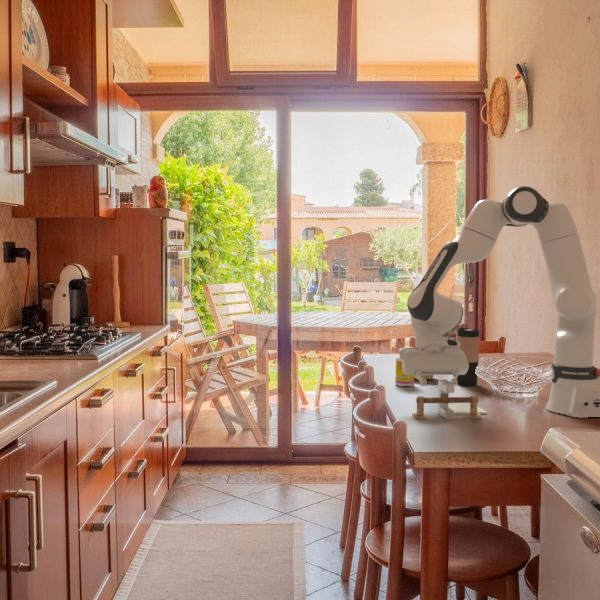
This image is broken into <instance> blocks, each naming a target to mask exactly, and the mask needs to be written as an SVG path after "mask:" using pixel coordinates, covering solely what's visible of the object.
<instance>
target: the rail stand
mask: <svg viewBox="0 0 600 600" xmlns="http://www.w3.org/2000/svg"><path fill="white" fill-rule="evenodd" d="M415 401H416V413H413V412H412V414H411V415H412V417H413V419H414V420H428V419H429V415H427V414H426V413H425V412H424V411H425V409H424V408H425V407H424V406H425V404H438V403H448V404H461V403H462V404H463V403H465V404H469V405H470V413H465V414H464V416H466V417H467V418H468V419H482V417H483V414H479V413H477V406H478V403H479V397H478V396H477V395H471V396H464V397H463V396H460V397H459V396H458V397H457V396H455V397H454V396H452V397H451V396H450V397H449V396H448V397H438V396H437V397H425V396H421V395H420V396H417V397H416V398H415Z"/></svg>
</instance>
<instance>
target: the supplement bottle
mask: <svg viewBox="0 0 600 600" xmlns="http://www.w3.org/2000/svg"><path fill="white" fill-rule="evenodd" d="M401 349H402V348H399V349H398V352H399V351H400V350H401ZM398 354H399V353H398ZM394 380H395V382H394V383H395V385H396V386H397V385H398V386H399V387H403V386H410V387H413V386H414V385H415V379H414V375H405V374H404V373H403V370H402V359H401V358H400V354H399V355H397V357H396V358H395V379H394ZM398 386H397V387H398Z"/></svg>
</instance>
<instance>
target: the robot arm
mask: <svg viewBox="0 0 600 600" xmlns="http://www.w3.org/2000/svg"><path fill="white" fill-rule="evenodd" d="M527 225H531V226H532V227H534V229H535V231H536V232H537V235H538V238H539V243H540V247H541V250H542V254H543V257H544V261H545V265H546V270H547V274H548V279H549V283H550V284H549V285H550V289H551V294H552V299H553V301H554V307H555V310H556V311H557V312H556V313H557V314H556V320H555V322H556V323H555V333H554V334H555V335H554V349H553V351H554V354H553V363H552V366H551V371H550V373H551V374H550V375H551V376H550V377H551V389H550V394H549V397H548V401H547V404H546V407H545V409H546V410H548V411H550V412H552V413H556V414H559V413H560V414H561V415H564V414H565V415H566V416H569V417H573V418H577V417H578V419H579V418H581V419H584V418H587V419H588V417H600V378H599V377H600V368H597V367H596V366H594V365H593V363H594V362H593V361H594V345H595V344H594V341H595V328H596V327H595V326H596V311H597V310H596V308H597V296H596V293H595V290H594V289H593V288H592V284H591V280H590V276H589V272H588V266H587V262H586V258H585V255H584V251H583V247H582V243H581V241H580V240H581V239H580V237H579V236H580V235H579V233H578V229H577V225H576V223H575V220H574V218H573V215H572V214H571V212H570V210H569V207H568V206H567V205H566V204H564V203H561V202H549V201H548V200H546V199H545V197H543V196H542V194H541V193H540V192H539V191H538V190H536V189H535V188H533V187H531V186H527V185H525V186H523V185H520V186H517V187H515V188H513V189H512V190H510V191H509V193H507V195H506V196H505V197H504V199H503V200H501V201H495V200H492V199H489V198H488V199H481V200H479V201H477V202H476V203H475V205H474V206H473V208H472V209H471V210H470V212H469V213H468V216H467V217H466V219H465V221H464V223H463V225H462V228H461V230H460V232H459V233H458V235H457V236H456V237H455V238H454V239H453V240H451V241H448V242H446V243H445V244H444V245H443V246H442V248H441V249H440V250H439V252H438V253H437V255H436V256H435V258H434V260H433V261H432V262H431V264H430V266H429V267H428V269H427V271H426V273H425V274H424V275H423V277H422V279H421V281H419V283H418V284H417V286H416V287H415V288H414V290H412V292H411V293H410V295H409V296H408V298H407V301H406V302H407V305H406V306H407V310H408V312H409V314H410V323H411V328H412V334H413V335H414V342H415V347H403V348H400V349H401V350H400V351H399V350H398V354H400V358H401V359H402V370H403V373H404V374H405V375H415V377H416V378H417V379H416V380H417V381H419V382H420V383H419V384H420V386H421V387H427V384H428V382H427V379H426V378H423V377H422V376H421V375H434V376H452V378H451V380H450V382H451V383H453V384H454V385H455V386H454V387H457V386H458V385H457V384H458V382H457V377H458V375H465V374H466V373H467V371H468V369H469V364H468V360H467V358H466V355H465V353H464V351H463V350H461V349H460V346H461V344H460V342H459V341H456V340H452V339H448V338H446V337H443V333H447V332H448V331H450V330H452V329H453V328H455V327H456V326H458V325H459V324H460V322H462V321H463V319H464V318H463V317H464V308H463V305H462V303H461V301H459V300H456V299H454V298H452V297H450V296H447V295H445V294H442V293H440V292H438V289H439V287H440V285H441V283H442V282H443V281H444V279H445V277H446V275H447V274H448V272H450V270H451V269H452V268H453V267H454V266H456V265H459V264H471V263H472V264H474V263H478V262H481V261H484V260H486V259H487V258H488V257H489V255H490V254H491V253H492V251H493V250H494V246H495V245H496V243H497V240H498V238H499V235H500V233H501V231H502V230H503V228H504V227H505V226H506V227H517V228H518V227H520V228H521V227H525V226H527ZM560 414H559V415H560Z"/></svg>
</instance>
